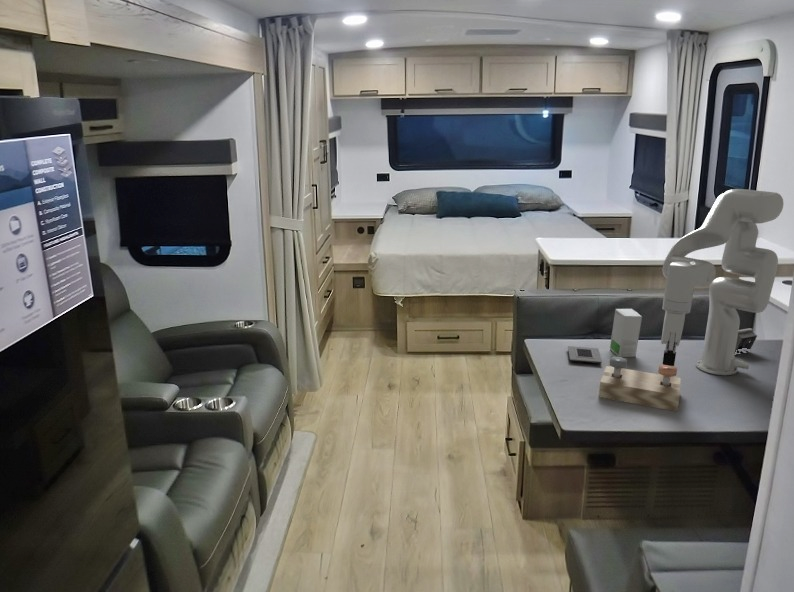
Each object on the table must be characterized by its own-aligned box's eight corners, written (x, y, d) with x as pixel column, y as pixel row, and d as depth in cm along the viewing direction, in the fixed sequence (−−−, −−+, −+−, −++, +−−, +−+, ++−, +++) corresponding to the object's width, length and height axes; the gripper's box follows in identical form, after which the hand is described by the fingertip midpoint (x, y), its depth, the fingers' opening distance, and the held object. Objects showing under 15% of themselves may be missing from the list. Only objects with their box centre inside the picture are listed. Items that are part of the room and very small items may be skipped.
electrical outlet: (601, 367, 218) (602, 360, 217) (569, 364, 220) (570, 358, 219) (597, 353, 230) (598, 347, 229) (567, 351, 232) (568, 345, 231)
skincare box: (609, 349, 233) (614, 308, 229) (626, 348, 234) (631, 308, 230) (619, 357, 225) (624, 315, 221) (637, 357, 226) (642, 315, 222)
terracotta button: (674, 386, 193) (677, 366, 192) (673, 392, 189) (676, 372, 187) (656, 383, 195) (659, 363, 194) (655, 389, 191) (658, 369, 189)
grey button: (625, 377, 199) (628, 358, 197) (624, 383, 194) (626, 363, 193) (608, 375, 201) (611, 355, 199) (606, 380, 196) (609, 361, 195)
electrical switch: (741, 349, 236) (747, 325, 232) (753, 355, 231) (760, 331, 228) (722, 352, 232) (728, 329, 229) (734, 358, 228) (741, 335, 224)
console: (678, 392, 198) (680, 377, 196) (677, 411, 186) (679, 395, 184) (604, 380, 206) (606, 365, 205) (598, 397, 194) (600, 381, 193)
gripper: (664, 297, 193) (656, 354, 198) (661, 310, 180) (653, 371, 185) (691, 300, 190) (682, 358, 195) (690, 314, 177) (681, 375, 182)
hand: (668, 364), depth 190 cm, fingers closed
